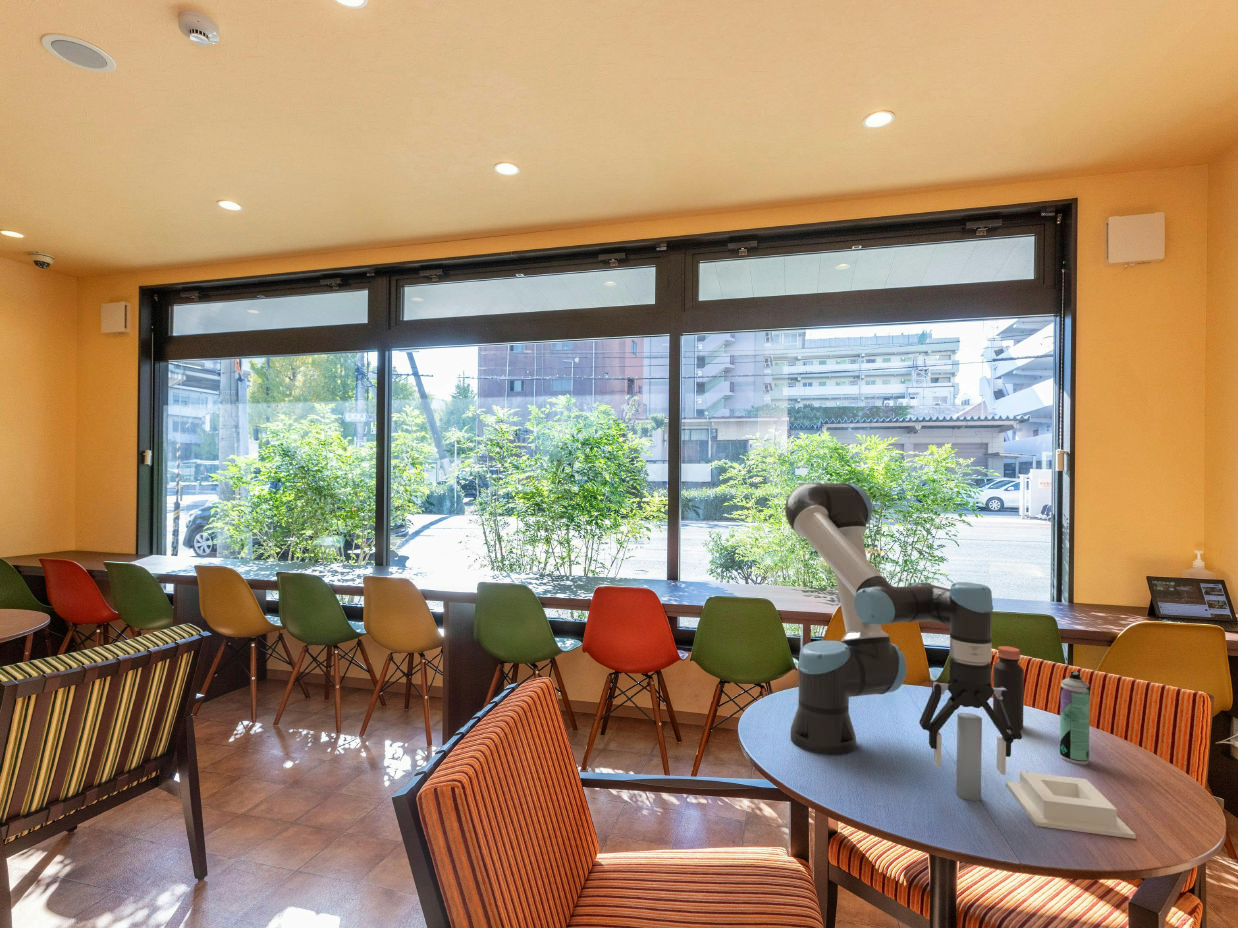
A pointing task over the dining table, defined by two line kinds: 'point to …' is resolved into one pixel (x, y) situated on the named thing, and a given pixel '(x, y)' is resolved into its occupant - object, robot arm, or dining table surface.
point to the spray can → (1074, 720)
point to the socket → (1067, 804)
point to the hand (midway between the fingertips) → (968, 767)
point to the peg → (969, 756)
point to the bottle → (1009, 683)
